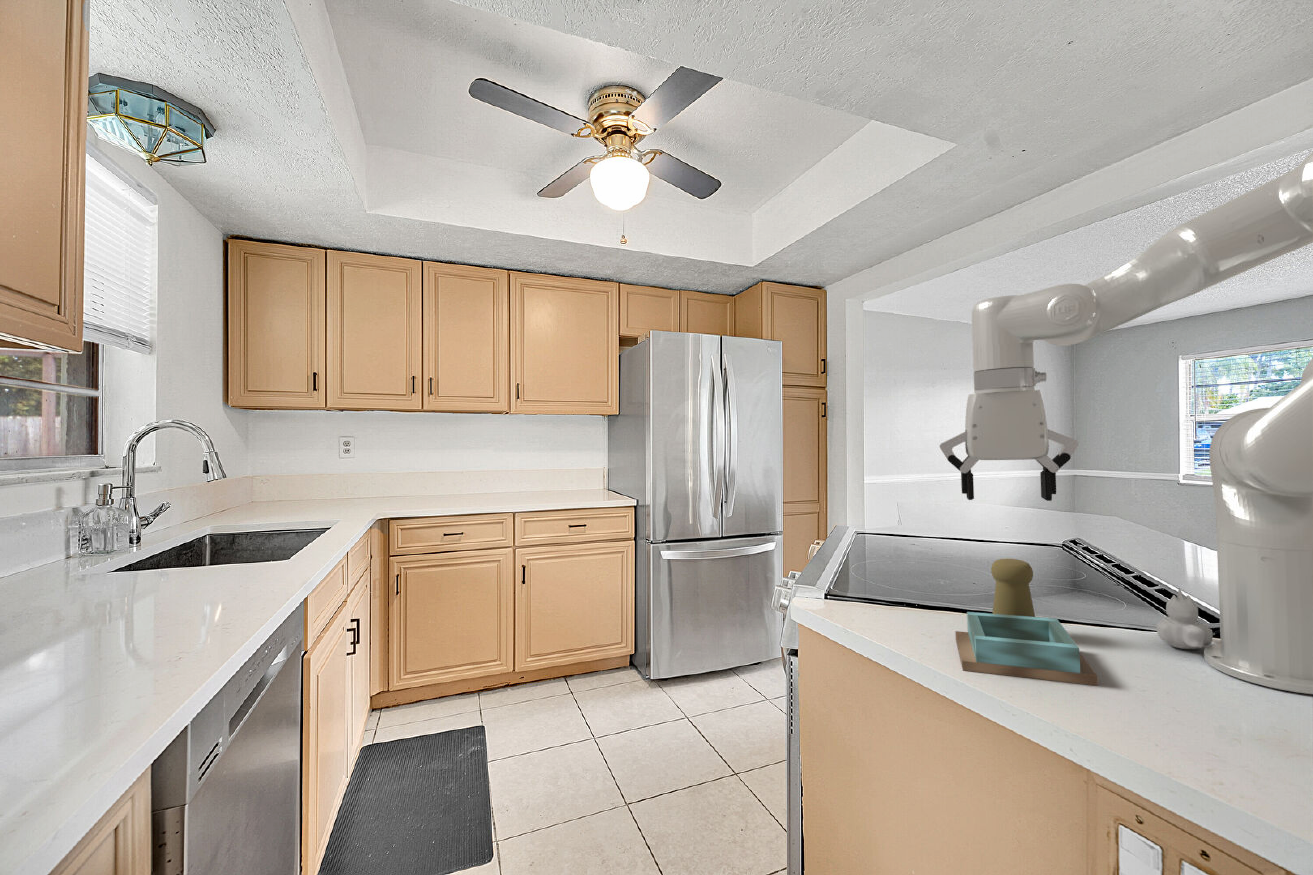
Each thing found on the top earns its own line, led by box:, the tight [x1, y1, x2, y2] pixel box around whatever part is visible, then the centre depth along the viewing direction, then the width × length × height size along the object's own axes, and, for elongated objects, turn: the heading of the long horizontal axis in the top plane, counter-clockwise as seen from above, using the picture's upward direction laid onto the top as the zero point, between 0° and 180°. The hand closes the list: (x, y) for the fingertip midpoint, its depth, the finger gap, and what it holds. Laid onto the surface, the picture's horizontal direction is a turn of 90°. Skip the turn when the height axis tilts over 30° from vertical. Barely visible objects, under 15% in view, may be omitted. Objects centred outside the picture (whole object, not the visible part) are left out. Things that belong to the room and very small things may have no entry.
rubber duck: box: [1156, 587, 1214, 650], centre depth 74 cm, size 5×7×8 cm
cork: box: [990, 558, 1036, 617], centre depth 82 cm, size 6×6×11 cm
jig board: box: [954, 611, 1098, 686], centre depth 74 cm, size 14×11×4 cm
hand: (1007, 499), depth 82 cm, fingers open, 9 cm apart
